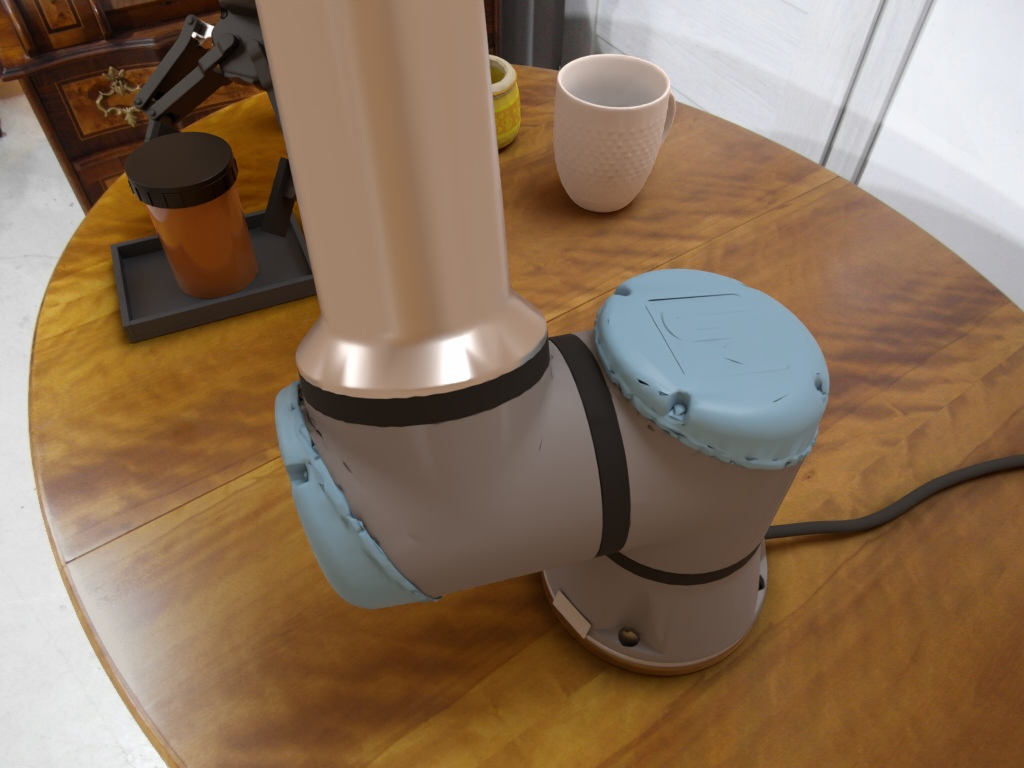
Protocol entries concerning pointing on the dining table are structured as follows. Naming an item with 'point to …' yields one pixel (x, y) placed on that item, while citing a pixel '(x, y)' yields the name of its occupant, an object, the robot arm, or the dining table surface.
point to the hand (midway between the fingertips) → (209, 214)
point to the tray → (166, 308)
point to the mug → (609, 127)
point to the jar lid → (181, 170)
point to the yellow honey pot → (505, 100)
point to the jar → (208, 246)
